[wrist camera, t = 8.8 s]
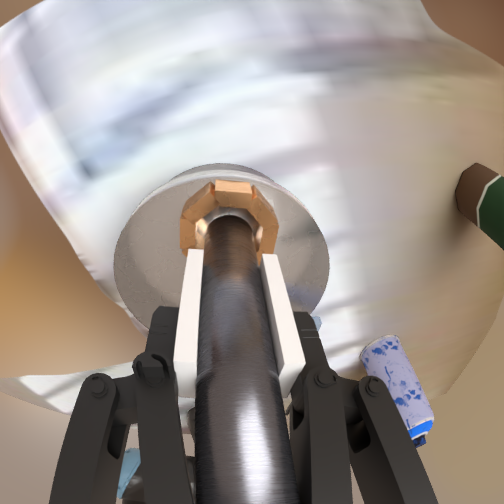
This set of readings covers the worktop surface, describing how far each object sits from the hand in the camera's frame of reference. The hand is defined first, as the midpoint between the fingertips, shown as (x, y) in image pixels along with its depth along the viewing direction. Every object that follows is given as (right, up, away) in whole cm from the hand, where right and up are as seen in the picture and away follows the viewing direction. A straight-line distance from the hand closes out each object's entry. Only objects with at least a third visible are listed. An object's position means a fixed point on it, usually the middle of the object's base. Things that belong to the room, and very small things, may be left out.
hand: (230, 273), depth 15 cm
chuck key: (0, +2, +3) cm, 4 cm away
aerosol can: (+24, -16, +29) cm, 41 cm away
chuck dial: (-2, -1, +10) cm, 10 cm away
